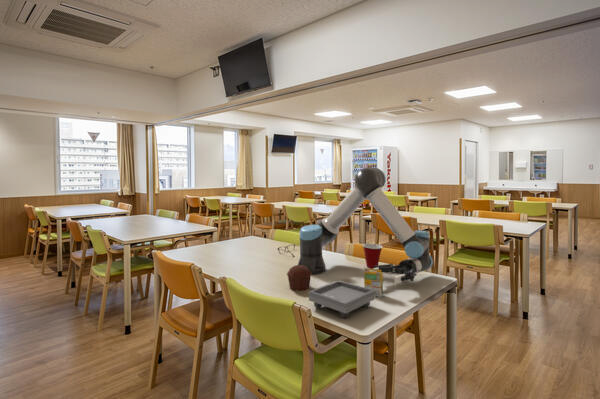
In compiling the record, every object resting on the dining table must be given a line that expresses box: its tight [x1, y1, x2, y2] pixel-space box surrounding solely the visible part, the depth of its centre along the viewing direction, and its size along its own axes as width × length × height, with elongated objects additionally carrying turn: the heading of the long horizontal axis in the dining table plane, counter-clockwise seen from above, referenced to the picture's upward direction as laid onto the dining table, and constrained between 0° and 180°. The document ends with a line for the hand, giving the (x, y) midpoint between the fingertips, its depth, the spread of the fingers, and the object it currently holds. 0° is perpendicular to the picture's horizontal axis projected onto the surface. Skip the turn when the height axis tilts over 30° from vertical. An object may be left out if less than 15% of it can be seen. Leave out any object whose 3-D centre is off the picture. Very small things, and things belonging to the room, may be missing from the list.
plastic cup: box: [362, 243, 384, 269], centre depth 186 cm, size 11×11×12 cm
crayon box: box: [363, 267, 384, 298], centre depth 144 cm, size 7×3×12 cm, turn 66°
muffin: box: [286, 264, 313, 292], centre depth 155 cm, size 12×11×10 cm
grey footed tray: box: [308, 280, 376, 319], centre depth 132 cm, size 18×18×6 cm
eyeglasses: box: [277, 243, 300, 258], centre depth 221 cm, size 16×16×4 cm
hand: (381, 276), depth 147 cm, fingers open, 13 cm apart
